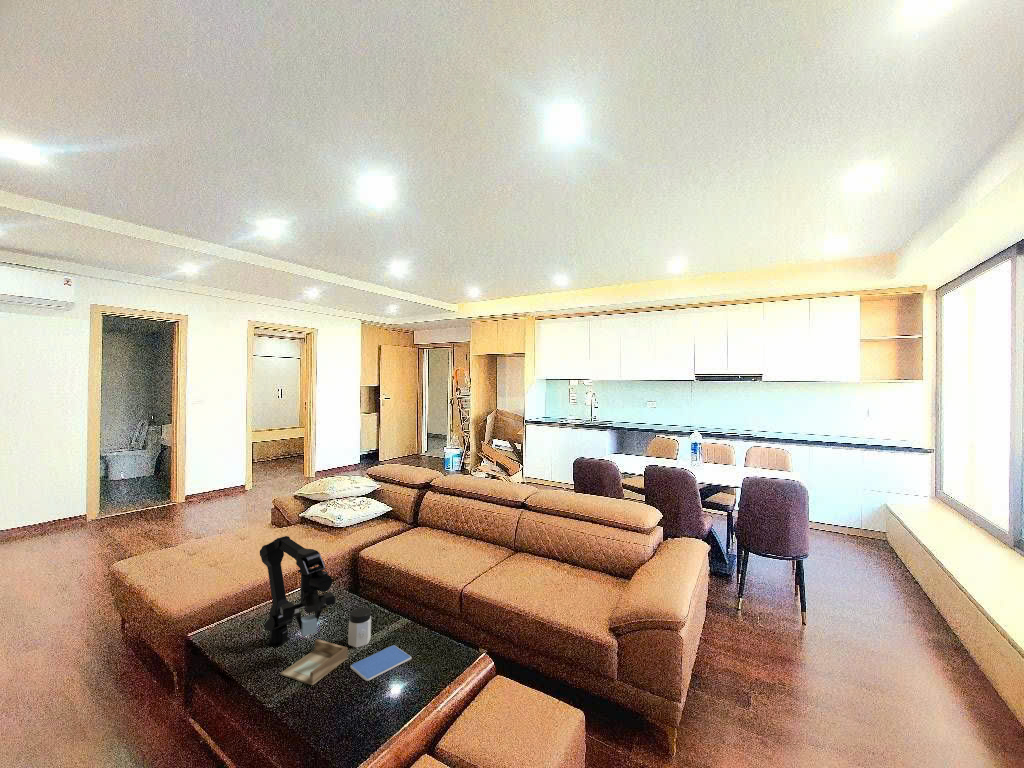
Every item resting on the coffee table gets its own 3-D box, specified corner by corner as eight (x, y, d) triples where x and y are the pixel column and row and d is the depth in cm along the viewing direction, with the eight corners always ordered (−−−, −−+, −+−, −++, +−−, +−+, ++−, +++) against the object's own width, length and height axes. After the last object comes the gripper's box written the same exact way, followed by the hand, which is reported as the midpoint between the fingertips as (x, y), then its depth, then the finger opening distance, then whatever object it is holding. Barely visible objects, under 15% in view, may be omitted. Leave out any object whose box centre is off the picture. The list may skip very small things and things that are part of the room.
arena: (280, 674, 157) (280, 663, 157) (317, 649, 173) (317, 639, 173) (312, 685, 152) (312, 673, 152) (347, 658, 168) (347, 647, 168)
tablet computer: (393, 647, 177) (394, 643, 177) (412, 659, 169) (412, 656, 169) (349, 668, 162) (349, 665, 162) (367, 683, 154) (367, 680, 154)
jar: (350, 650, 173) (351, 619, 174) (345, 640, 180) (346, 610, 181) (373, 643, 178) (374, 613, 179) (367, 634, 185) (368, 605, 185)
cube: (302, 636, 165) (302, 622, 165) (299, 631, 169) (299, 617, 169) (316, 632, 168) (317, 618, 168) (313, 627, 172) (313, 614, 172)
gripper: (286, 599, 157) (285, 644, 156) (340, 586, 168) (339, 627, 168) (280, 589, 166) (279, 631, 165) (331, 577, 177) (330, 616, 177)
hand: (308, 626), depth 168 cm, fingers closed on cube, 5 cm apart
